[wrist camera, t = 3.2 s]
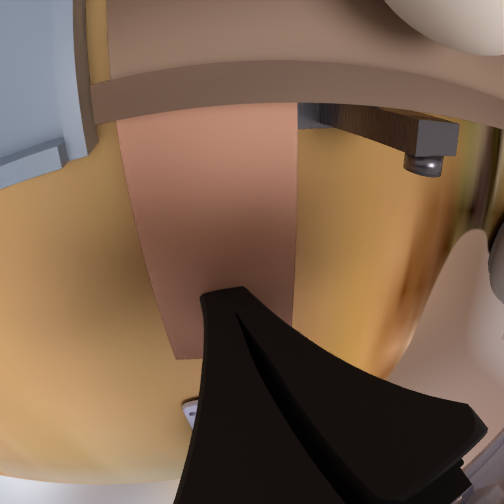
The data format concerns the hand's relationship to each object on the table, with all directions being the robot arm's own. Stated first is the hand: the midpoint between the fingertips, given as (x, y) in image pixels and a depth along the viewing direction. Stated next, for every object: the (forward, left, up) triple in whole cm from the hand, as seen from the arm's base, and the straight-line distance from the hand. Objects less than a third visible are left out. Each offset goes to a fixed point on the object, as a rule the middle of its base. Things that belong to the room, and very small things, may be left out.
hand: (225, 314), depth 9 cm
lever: (+5, -8, +1) cm, 10 cm away
